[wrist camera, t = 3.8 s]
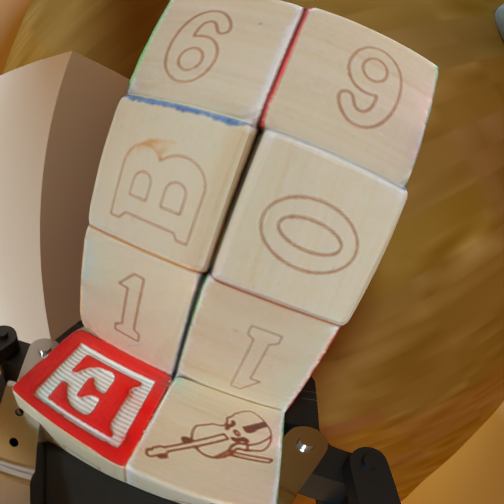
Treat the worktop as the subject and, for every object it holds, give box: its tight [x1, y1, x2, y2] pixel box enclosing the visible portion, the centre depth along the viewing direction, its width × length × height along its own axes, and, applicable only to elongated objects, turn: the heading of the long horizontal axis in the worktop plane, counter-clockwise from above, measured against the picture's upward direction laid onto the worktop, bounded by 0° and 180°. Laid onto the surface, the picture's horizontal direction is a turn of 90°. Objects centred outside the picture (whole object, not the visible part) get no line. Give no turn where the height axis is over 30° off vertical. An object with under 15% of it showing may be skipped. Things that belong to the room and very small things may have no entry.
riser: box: [0, 51, 130, 344], centre depth 13 cm, size 23×9×6 cm, turn 167°
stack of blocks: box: [12, 0, 439, 504], centre depth 10 cm, size 21×6×12 cm, turn 159°
